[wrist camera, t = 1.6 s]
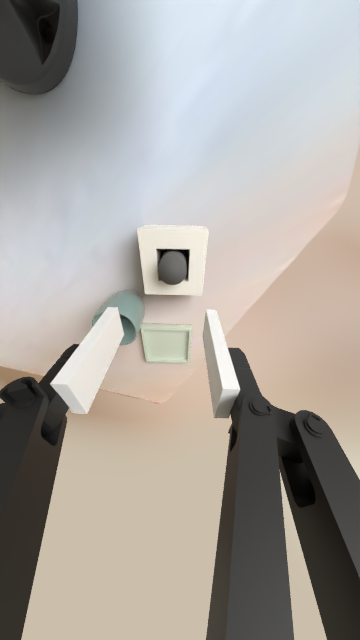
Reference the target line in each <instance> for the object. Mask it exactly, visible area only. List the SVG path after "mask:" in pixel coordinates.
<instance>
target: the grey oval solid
mask: <svg viewBox="0 0 360 640" xmlns="http://www.w3.org/2000/svg"><path fill="white" fill-rule="evenodd" d="M186 274H187V265H186V255H185V253H184V252H183V251H182V250H181V249H167V250H166V251H165V252H164V254H163V256H162V258H161V261H160V263H159V265H158V275H159V277H160V279H161V280H162V281H163V282H164V283H166V284H169V285H176V284H179V283H181V282H182V281H183V280H184V279H185V277H186Z"/></svg>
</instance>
